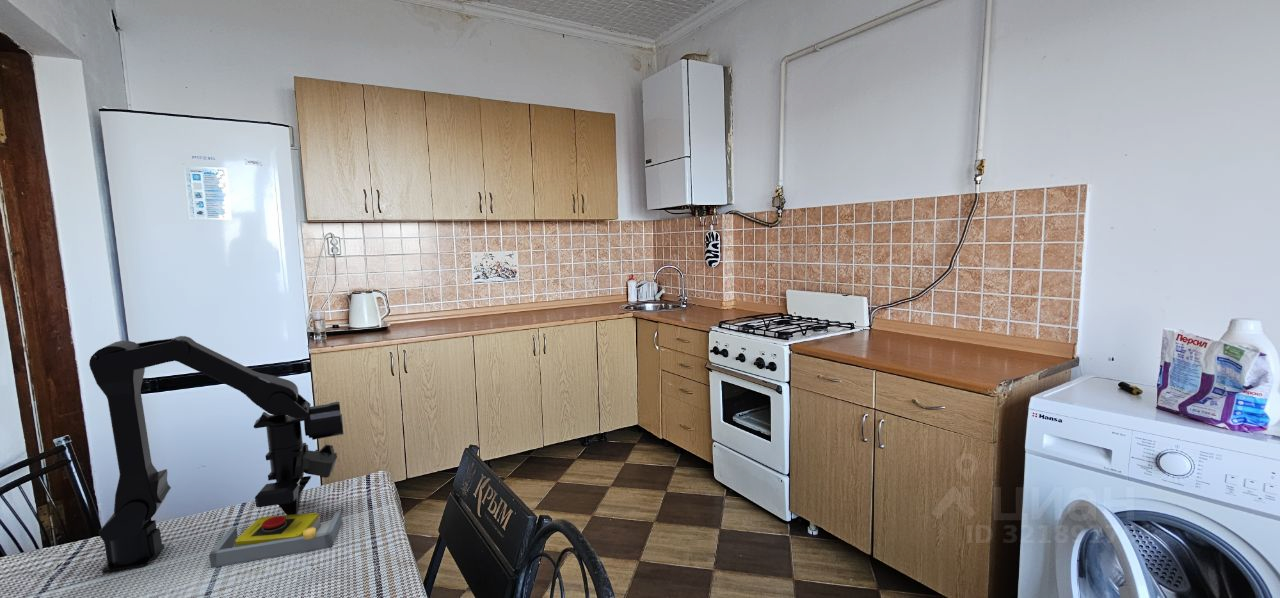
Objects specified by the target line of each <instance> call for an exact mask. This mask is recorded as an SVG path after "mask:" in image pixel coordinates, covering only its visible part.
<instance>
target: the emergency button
mask: <svg viewBox="0 0 1280 598" xmlns="http://www.w3.org/2000/svg"><path fill="white" fill-rule="evenodd" d="M330 523H331V522H329V523H328V522H326V523H321V520H320V515H319V513H318V512H310V513H309V512H308V513H298V514H295V515H286V514H285V515H283V514H282V515H274V516H272V515H271V516H261V517H259V518H258V519H257V520H255V521H254V522H253V523H252V524H251V525H250V526H249V527H247V528H246V530H245V531H243V532H242V533H241V534H240V535H238V538H237V539H236V540H235V544H234V547H241V546H247V545H253V544H259V543H265V542H271V541H277V540H283V539H290V538H296V537H302V536H303V531H304V530H305V529H307V528H312V527H314V528H316V534H320V533H326V531H327V529H328V527H329V525H330Z"/></svg>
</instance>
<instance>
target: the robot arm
mask: <svg viewBox="0 0 1280 598" xmlns="http://www.w3.org/2000/svg"><path fill="white" fill-rule="evenodd" d="M171 362H177V363H180V364H182V365H184V366H186V367H189V368H191V369H193V370H195V371H197V372H199V373H201V374H203V375H205V376H207V377H210V378H212V379H214V380H215V381H216V380H217V381H218V382H220V383H222V384H225V385H226V386H228V387H231V388H232V389H235V390H237V391H239V392H240V393H242V394H243V395H245V396H246V397H247V398H248V399H249V400H250V401H251V402H252V403H253V404H254V405H256V406H258V407H259V408H260V409H262V410H263V412H262V413H261V416H260V417H258V419H256V420H255V422H254V425H253V428H254V429H261V428H266V435H267V436H266V437H267V445H268V452H267V453H266V454H265V460H266V461H269V464H270V472H269V474H268V475H267V480H268V482H269V481H276V482H271V483H270V482H269V483H266V484H265V485H264V486H263V487H262V488H261V489H260V491H259V492H258V493H257V494H256V495H255V496H254V501H255V508H264V507H271V506H277V505H278V507H279V508H280V509H281V510H282V511H283V513H284V514H285V515H295V514H299V509H300V502H301V498H302V493H303V491H304V489H305V488H306V486H307V485H308V483H309V481H310V480H311V478H312V476H318V477H320V478H325V479H326V478H329V477H330V476H331V474H332V472H333V471H334V467H335V464H336V462H337V460H338V455H337V454H338V453H337V452H335V448H334V446H333V445H331V444H324V445H323V447H321V448H320V450H318V449H315V450H309V445H308V444H307V442H303V433H302V423H301V422H303V427H304V434H305V436H306V437H308V438H309V439H312V441H313V440H320V439H324V438H325V439H326V438H331V437H332V438H333V437H337V436H338V437H339V436H344V423H343V422H344V421H343V414H342V412H341V405H340V404H341V403H340V402H339V401H334V402H330V403H327V404H320V405H315V406H311V403H310V402H309V401H307V400H306V399H305V398H304V397H303V396H302V395H301V394H300V393H299V388H298V385H296V383H295V382H294V381H291V380H289V379H286V378H282V377H279V376H276V375H274V374H273V375H272V374H268V373H261V372H258V371H255V370H253V369H251V368H249V367H247V366H245V365H243V364H241V363H239V362H237V361H235V360H232V359H231V358H229V357H227V356H224V355H222V354H221V353H219V352H216V351H214V350H213V349H210V348H208V347H207V346H205V345H203V344H201V343H198V342H196V341H195V340H193V338H191V337H189V336H186V335H178V336H176V337H173V338H165V339H158V340H157V339H155V340H149V341H144V342H139V343H137V342H135V341H131V340H118V341H115V342H112V343H110V344H108V345H106V346H104V347H102V348H100V349H98V350H96V352H94V353H93V354H92V355H91V356H90V359H89V363H88V365H89V369H90V371H91V374H92V377H93V378H94V380H95V383H96V385H97V386H98V387H99V389H100V390H101V391H102V393H103V394H104V395H105V397H106V399H107V405H108V411H109V416H110V417H109V418H110V423H111V428H112V435H113V442H114V447H115V454H116V460H117V465H118V470H119V471H118V472H119V477H118V483H117V486H116V491H115V494H114V505H113V506H114V507H113V514H112V515H111V516H110V517H109V519H108V520H107V521H106V522H105V523H104V525H103V526H102V527H101V529H99V531H98V533H97V534H98V536H99V537H100V538H101V540H102V541H103V543H104V548H105V549H104V550H105V554H106V555H105V556H106V563H107V564H106V565H105V566H104V567H103V568H102V569H101V572H102V573H104V574H105V573H110V572H116V571H123V570H127V569H134V568H139V567H144V566H147V565H149V564H150V563H151V562H152V560H153V559H155V557H157V555H158V554H160V552H161V551H162V550H163V549H164V548H165V544H163V541H162V536H161V529H160V528H159V527H158V528H157V522H156V519H155V520H154V519H153V520H151V519H152V517H154V516H155V515H156V513H157V511H158V510H159V508H161V506H162V504H163V503H164V501H165V499H166V497H167V496H168V495H167V494H168V493H169V491H170V490H171V489H172V487H171V486H170V485H169V483H168V469H162V470H160V471H158V470H157V468H156V467H155V466H154V464H153V462H152V457H151V450H150V443H149V438H148V429H147V423H146V417H145V412H144V405H143V398H142V392H141V390H142V386H143V385H142V384H143V381H144V376H145V369H146V368H149V367H155V366H158V365H163V364H165V363H171ZM305 474H306V475H308V476H305Z"/></svg>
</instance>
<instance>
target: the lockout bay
mask: <svg viewBox="0 0 1280 598" xmlns="http://www.w3.org/2000/svg"><path fill="white" fill-rule="evenodd" d="M329 523H330V525H329V527H328V529H327V531H326V533H320V534H316V528H314V527H312V528H307V529H305V530H304V531H303V536H302V537H296V538H290V539H283V540H277V541H271V542H265V543H259V544H253V545H247V546H241V547H235V540H236V539H237V538H238V537H239V535H238V530H237V528H238V527H231V528H229V529H228V530H227V532H226V533H225V534H224V536H223V537H222V538H221V539H220V540H219V542H218V543H217V544H216V545H215V547H214V548H213V549H212V550H211V551H210V553H209V554H208V556H209V563H210V568H216V567H221V566H222V567H223V566H229V565H233V564H234V565H235V564H240V563H246V562H252V561H257V560H263V559H269V558H275V557H280V556H281V557H282V556H286V555H293V554H299V553H304V552H311V551H316V550H323V549H327V548H329V549H330V548H332V547H333V545H334V543H335V540H336V538H337V536H338V534H339V531H340V529H341V527H342V526H343V517H342V511H340V510H339V511H335V513H334V515H333V516H332V519H331V521H330V522H329Z"/></svg>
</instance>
